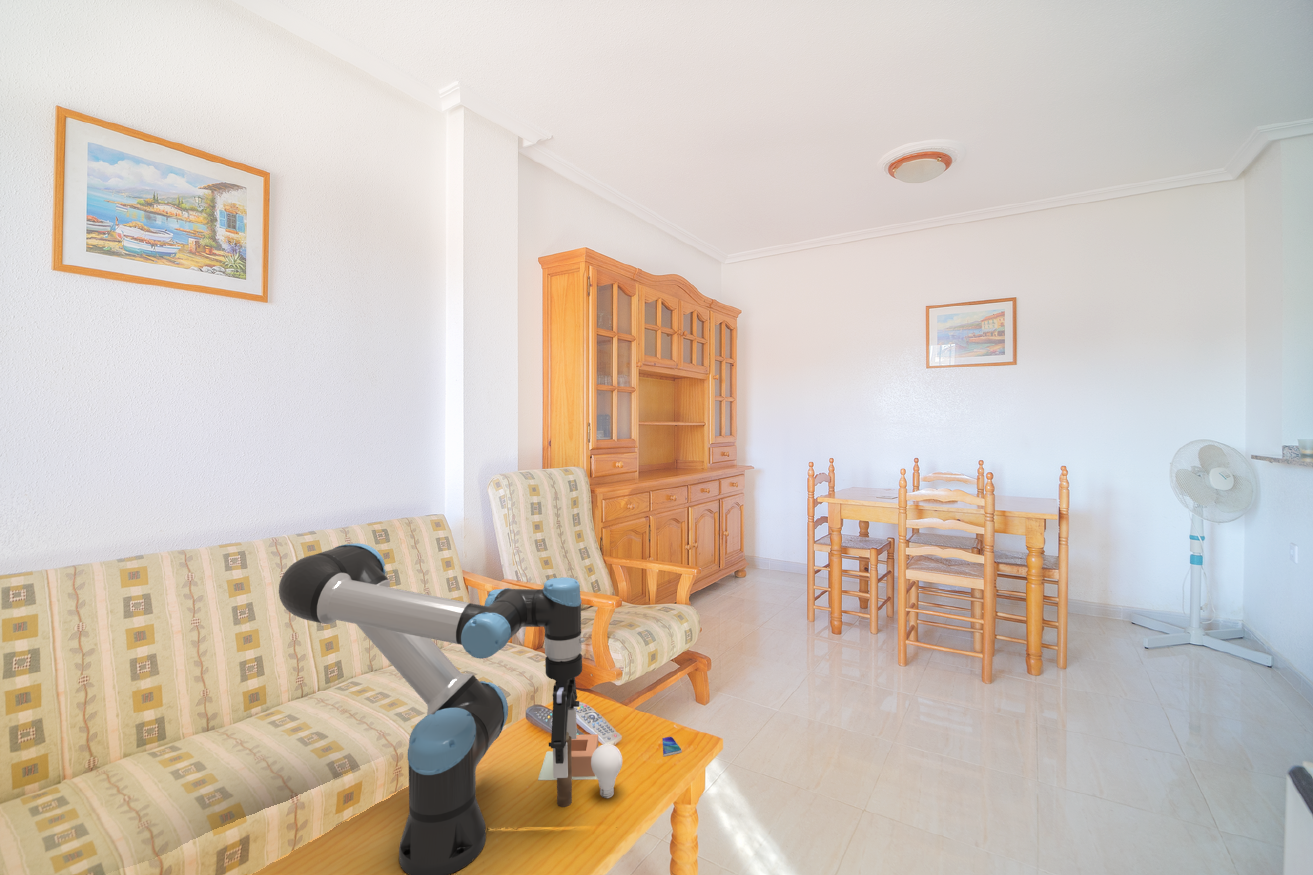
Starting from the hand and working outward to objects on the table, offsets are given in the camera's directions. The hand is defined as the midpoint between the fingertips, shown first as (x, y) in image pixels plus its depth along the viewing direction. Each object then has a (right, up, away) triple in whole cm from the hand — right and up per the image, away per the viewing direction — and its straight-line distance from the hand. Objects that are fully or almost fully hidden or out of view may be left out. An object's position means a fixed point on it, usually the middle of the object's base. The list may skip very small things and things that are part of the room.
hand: (565, 756), depth 116 cm
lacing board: (+1, -10, +13) cm, 17 cm away
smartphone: (+17, -11, +20) cm, 28 cm away
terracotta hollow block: (+1, -9, +13) cm, 16 cm away
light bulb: (+8, -10, +3) cm, 14 cm away
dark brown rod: (0, -10, 0) cm, 10 cm away
